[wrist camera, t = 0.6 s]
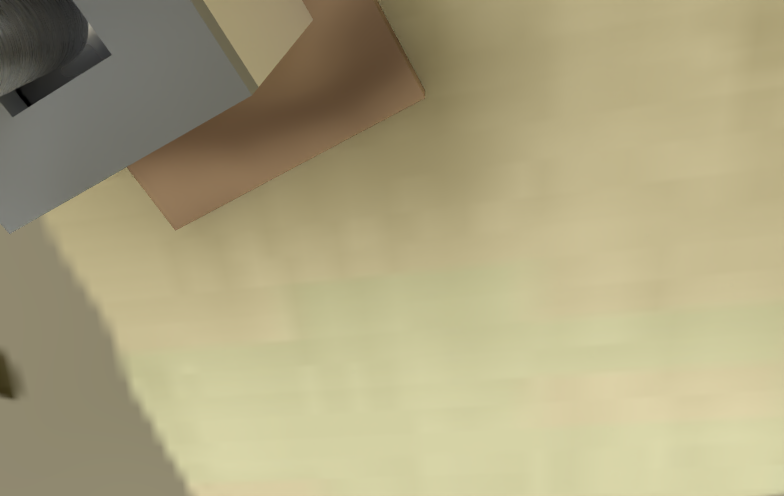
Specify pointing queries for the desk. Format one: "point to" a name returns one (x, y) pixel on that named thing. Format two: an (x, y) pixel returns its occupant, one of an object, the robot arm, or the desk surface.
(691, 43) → the desk surface
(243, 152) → the board
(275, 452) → the desk surface
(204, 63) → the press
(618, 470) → the desk surface
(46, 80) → the plunger
